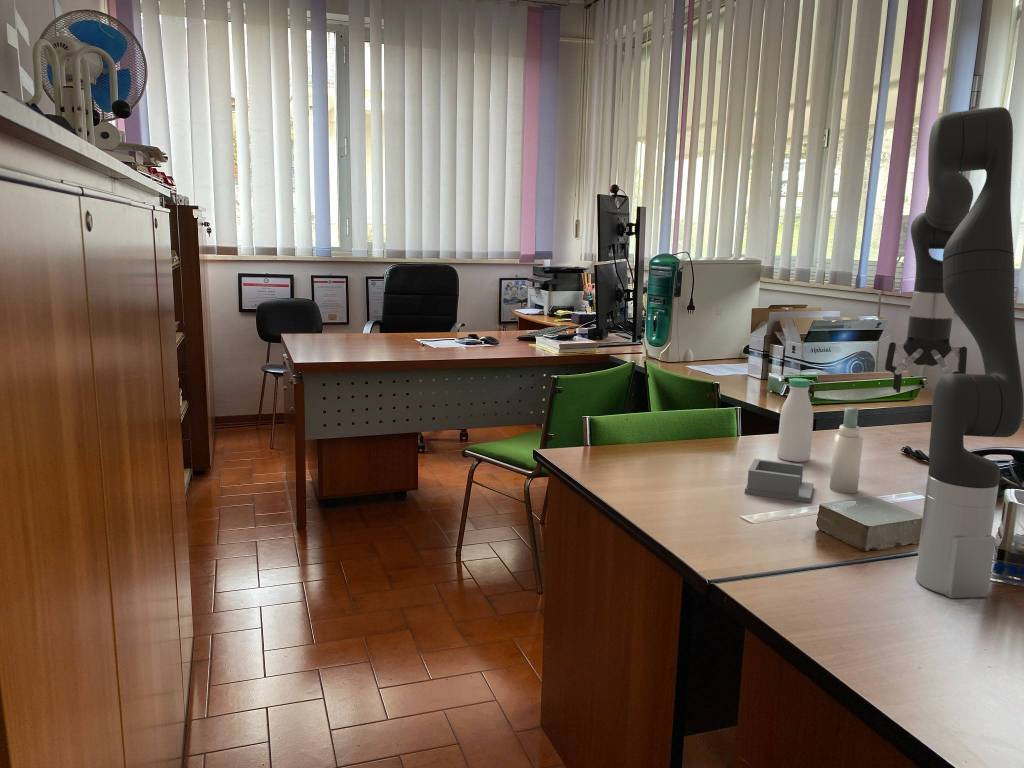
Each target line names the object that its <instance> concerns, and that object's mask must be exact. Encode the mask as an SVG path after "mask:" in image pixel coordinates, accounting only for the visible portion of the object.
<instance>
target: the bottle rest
mask: <svg viewBox="0 0 1024 768" xmlns="http://www.w3.org/2000/svg"><path fill="white" fill-rule="evenodd" d="M747 472H748V473H747V483H746V485H745V488H744V494H748V495H753V496H760V497H768V498H772V499H773V498H774V499H781V500H788V501H794V502H800V503H801V502H802V503H807V502H808V503H809V504H810V503H811V500H812V495H813V492H814V487H815V485H814V484H815V483H814V482H808V481H803V475H804V474H803V473H804V464H799V463H795V462H794V463H792V462H786V461H785V462H784V461H776V460H768V459H761V458H754V459H753V461H752V462H751V465H750V467H749V468H748V471H747Z"/></svg>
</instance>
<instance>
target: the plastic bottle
mask: <svg viewBox="0 0 1024 768" xmlns="http://www.w3.org/2000/svg"><path fill="white" fill-rule="evenodd" d="M858 416H859V408H856V407H853V406H851V407H850V406H848V407H847V406H846V407H844V414H843V422H842V423H843V424H840V425H839V427H838V432H836V433H834V435H833V436H834V438H833V439H834V440H833V446H832V447H833V448H832V460H831V468H830V469H831V470H830V479H829V480H830V481H829V489H830V490H831V489H832V491H833V490H834V491H833V492H836V491H838V492H837V493H840V492H842V493H841V494H855V493H854V492H856V493H858V492H859V483H860V471H861V464H862V463H861V461H862V452H863V443H864V442H863V441H864V436H862V435H861V434H860V433H861V432H860V431H861V426H858ZM857 491H858V492H857Z"/></svg>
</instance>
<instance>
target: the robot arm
mask: <svg viewBox="0 0 1024 768" xmlns="http://www.w3.org/2000/svg"><path fill="white" fill-rule="evenodd" d="M1012 119H1013V118H1012V115H1011V113H1010V111H1009V110H1008V109H1007V108H1005V107H1001V106H997V107H996V106H995V107H993V106H992V107H985V108H977V109H969V110H961V111H954V112H948V113H943V114H942V115H939V116H938V117H937V118H936V119H935V120H934V122H933V124H932V126H931V130H930V133H929V138H928V140H929V141H928V155H927V164H928V165H927V166H928V167H927V169H928V170H927V177H928V178H927V179H928V197H927V200H926V206H925V210H924V211H925V212H921V213H919V214H918V215H916V216H915V218H913V221H912V223H911V225H910V235H911V236H910V237H911V242H912V246H913V250H914V256H915V278H914V279H915V280H914V287H913V294H912V297H911V298H912V299H911V301H910V309H909V315H908V316H909V318H908V319H909V320H908V327H907V332H906V333H907V335H906V340H905V341H904V342H897V341H894V340H891V341H889V343H888V348H887V351H886V353H887V354H886V359H885V364H884V369H885V371H887V372H890V373H892V374H893V379H892V380H893V381H892V388H893V390H895V393H896V394H901V388H902V377H903V374H902V373H903V372H904V371H905V370H906V369H907V368H909V367H910V366H911V365H912V364H915V365H916V366H922V365H923V366H924V365H927V366H929V367H934V366H937V365H939V367H940V368H941V370H942V371H943V373H944V375H942V376H941V377H940V378H939V379H938V381H937V383H936V384H935V387H934V390H933V396H932V405H931V420H930V438H929V447H928V472H927V477H926V478H927V481H926V488H925V493H924V494H925V495H924V504H923V512H922V513H923V514H922V519H921V520H922V521H921V528H920V534H919V535H920V536H919V544H918V551H917V562H916V570H915V580H916V582H917V583H918V584H920V585H921V586H922V587H924V588H926V589H927V590H930V591H933V592H934V593H935V592H936V593H939V594H941V595H945V596H946V597H948V598H950V599H962V598H965V599H966V598H967V599H969V598H988V596H989V592H990V591H989V590H990V583H991V577H992V576H991V575H992V571H993V570H992V569H993V561H994V554H995V550H996V549H995V548H996V542H997V541H996V540H997V539H996V537H995V536H993V527H994V520H995V519H994V518H995V511H996V504H997V497H998V492H999V484H1000V478H1001V468H1000V466H999V465H998V463H995V462H994V460H991V459H988V458H986V457H984V456H982V455H978V454H975V453H974V452H970V451H969V450H968V449H966V448H965V445H964V437H983V438H984V437H986V438H1010V437H1012V436H1014V435H1015V434H1017V432H1019V429H1020V427H1021V424H1022V421H1023V416H1024V393H1023V392H1024V390H1023V381H1022V375H1021V374H1022V373H1021V366H1020V360H1019V353H1018V345H1017V334H1016V320H1015V319H1016V317H1015V253H1014V240H1013V239H1014V238H1013V226H1012V223H1013V222H1012V207H1011V205H1012V204H1011V202H1012V199H1011V195H1012V173H1013V172H1012V171H1013V153H1014V152H1013V151H1014V150H1013V147H1014V145H1013V143H1014V128H1013V127H1014V126H1013V125H1014V124H1013V120H1012ZM981 170H984V171H985V172H986V177H985V182H984V184H983V187H982V189H981V191H980V192H979V194H978V196H977V197H976V200H975V202H974V203H973V200H974V190H973V186H972V184H971V182H970V181H969V180H968V178H967V177H966V176H965V175H964V174H963V173H961V172H971V171H973V172H974V171H981ZM972 203H973V205H972ZM930 249H932V250H943V254H942V260H940V259H937V258H934V257H933V256H931V254H930ZM955 314H956V316H957V317H958V318H959V319H960V321H961V322H962V324H963V325H964V326H965V327H966V328H967V329H968V331H969V332H970V334H971V335H972V336H973V339H974V340H975V342H976V345H977V346H978V348H979V349H978V350H979V351H980V354H981V358H982V362H983V363H982V364H983V368H984V374H977V373H976V374H975V373H967V362H968V361H967V359H968V358H967V357H968V348H967V347H966V345H963V344H961V345H959V346H958V345H957V346H956V345H955V346H954V345H951V343H950V340H951V339H950V338H951V334H952V333H951V332H952V323H953V316H954V315H955ZM901 349H903V350H904V352H905V353H906V355H907V356H906V357H905V358H903V360H902V361H901V362H900V363H899V364H898V365H897V366H895V365H893V362H894V358H895V353H899V352H900V350H901ZM951 352H952V353H953V354H954V356H955V358H957V369H955V370H952V369H951V368H950V366H949V364H948V363H947V361H946V360H945V358H947V356H949V354H951Z"/></svg>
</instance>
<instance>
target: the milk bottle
mask: <svg viewBox="0 0 1024 768" xmlns="http://www.w3.org/2000/svg"><path fill="white" fill-rule="evenodd" d="M810 386H811V382H810V379H807V378H801V377H797V378H796V377H794V378H790V379H789V392H788V394H787V398H786V400H785V401H784V402H783V404H782V407H781V410H780V416H779V426H778V427H779V428H778V437H777V449H776V456H777V457H778V458H779V459H780V460H784V461H788V462H794V463H795V462H796V463H797V462H798V463H801V462H802V463H803V462H808V461H809V460H810V458H811V451H812V449H811V448H812V439H813V427H814V409H813V408H814V407H813V405H812V403H811V400H810V396H809V390H810Z"/></svg>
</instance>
